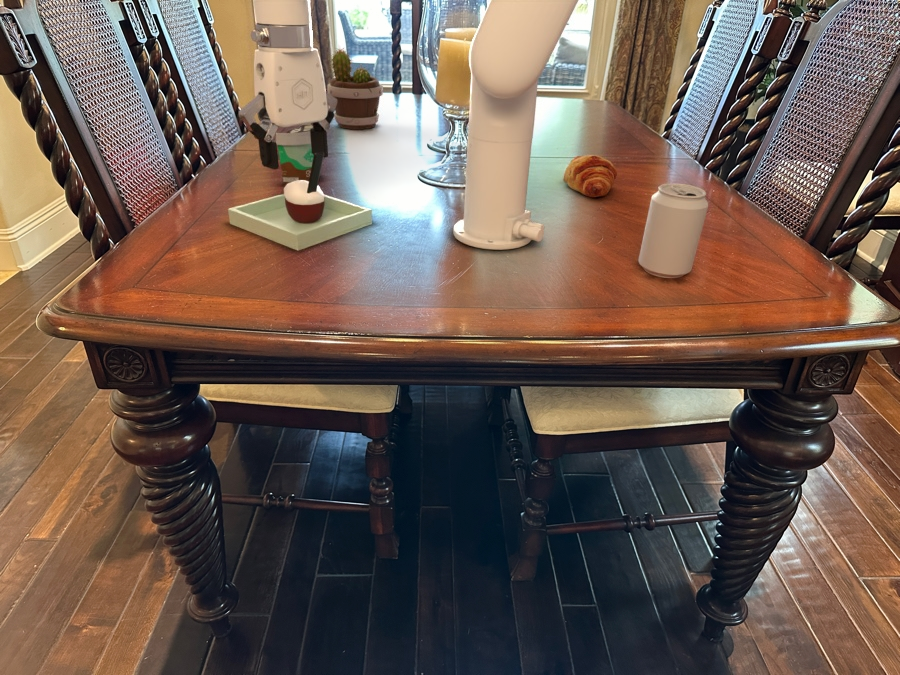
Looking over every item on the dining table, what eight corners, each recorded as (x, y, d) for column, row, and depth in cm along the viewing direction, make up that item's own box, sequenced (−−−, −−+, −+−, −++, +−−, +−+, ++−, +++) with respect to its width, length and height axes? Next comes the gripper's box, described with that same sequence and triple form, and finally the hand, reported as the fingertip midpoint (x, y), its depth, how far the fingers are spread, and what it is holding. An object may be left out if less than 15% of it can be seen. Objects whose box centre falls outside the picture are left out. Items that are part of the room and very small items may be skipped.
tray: (372, 224, 100) (371, 209, 99) (297, 250, 89) (296, 234, 88) (305, 201, 109) (303, 188, 108) (229, 223, 98) (227, 208, 97)
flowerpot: (385, 121, 172) (383, 42, 162) (382, 132, 159) (380, 48, 149) (333, 119, 172) (328, 40, 161) (325, 131, 158) (320, 46, 148)
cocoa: (284, 213, 102) (276, 139, 96) (321, 210, 104) (316, 137, 98) (291, 232, 94) (283, 154, 88) (331, 229, 96) (326, 152, 90)
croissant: (564, 187, 134) (551, 154, 130) (608, 168, 131) (596, 133, 128) (581, 218, 115) (566, 180, 112) (632, 195, 113) (618, 156, 109)
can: (660, 283, 84) (680, 199, 78) (626, 263, 90) (642, 182, 84) (702, 276, 87) (724, 193, 81) (666, 256, 93) (684, 178, 87)
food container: (310, 190, 114) (306, 136, 109) (280, 187, 115) (274, 133, 110) (334, 173, 125) (331, 122, 120) (306, 170, 126) (302, 120, 121)
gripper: (249, 43, 77) (265, 177, 86) (348, 38, 89) (353, 156, 98) (214, 38, 81) (233, 167, 90) (314, 34, 93) (322, 148, 102)
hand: (296, 161), depth 94 cm, fingers open, 9 cm apart
